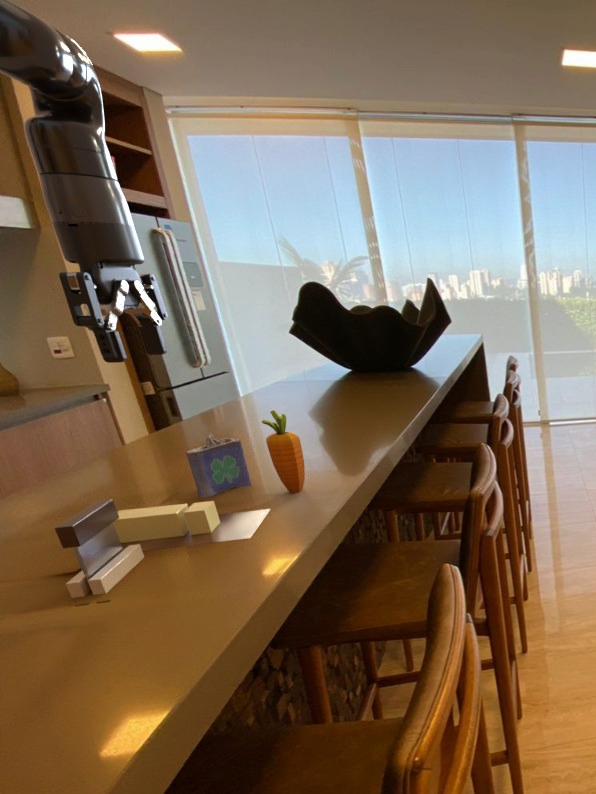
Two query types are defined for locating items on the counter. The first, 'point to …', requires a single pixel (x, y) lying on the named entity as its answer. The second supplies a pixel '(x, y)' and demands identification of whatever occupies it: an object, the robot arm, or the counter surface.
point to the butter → (151, 523)
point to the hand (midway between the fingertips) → (137, 358)
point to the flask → (218, 466)
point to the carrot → (286, 454)
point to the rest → (106, 574)
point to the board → (227, 530)
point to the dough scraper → (92, 536)
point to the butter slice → (202, 517)
